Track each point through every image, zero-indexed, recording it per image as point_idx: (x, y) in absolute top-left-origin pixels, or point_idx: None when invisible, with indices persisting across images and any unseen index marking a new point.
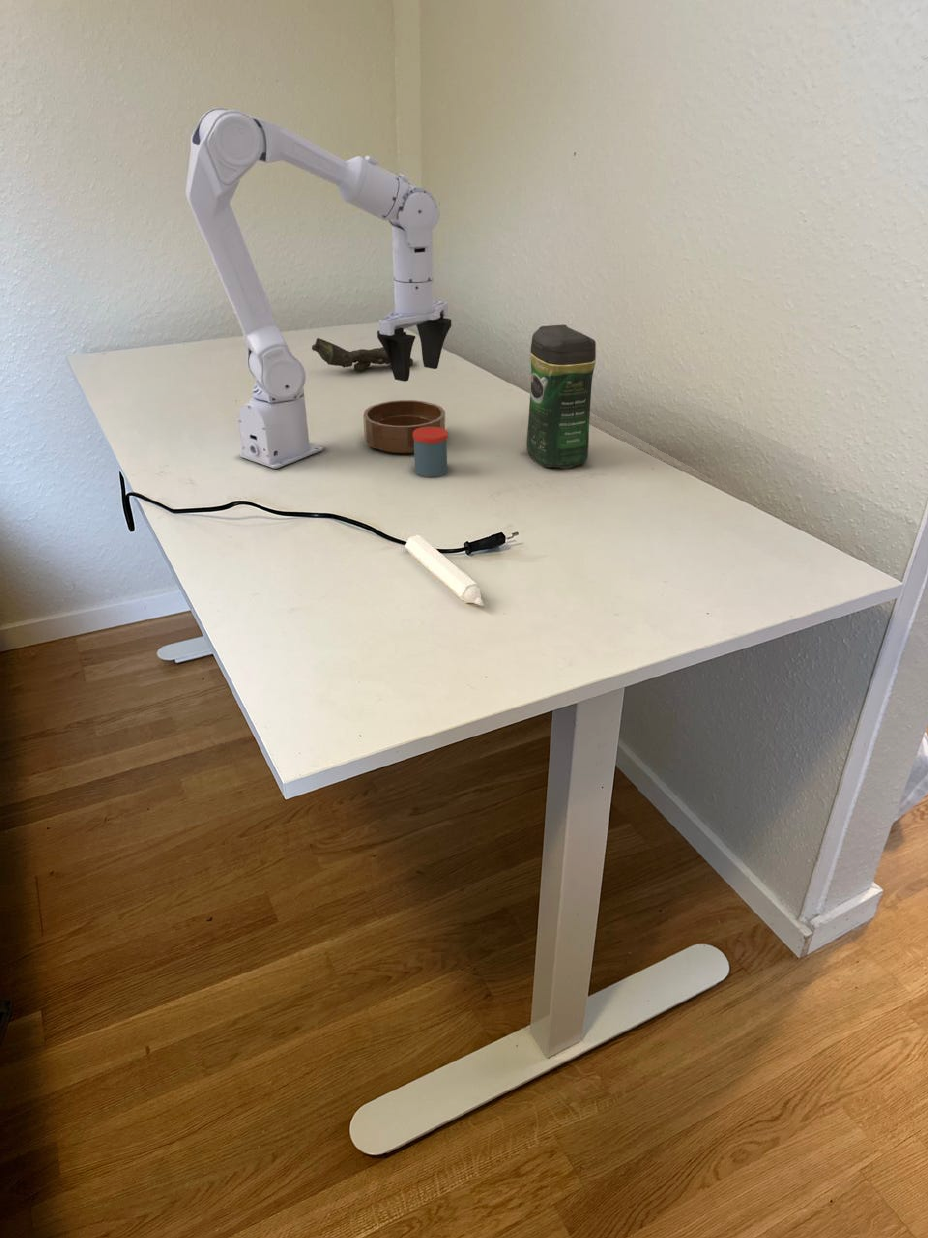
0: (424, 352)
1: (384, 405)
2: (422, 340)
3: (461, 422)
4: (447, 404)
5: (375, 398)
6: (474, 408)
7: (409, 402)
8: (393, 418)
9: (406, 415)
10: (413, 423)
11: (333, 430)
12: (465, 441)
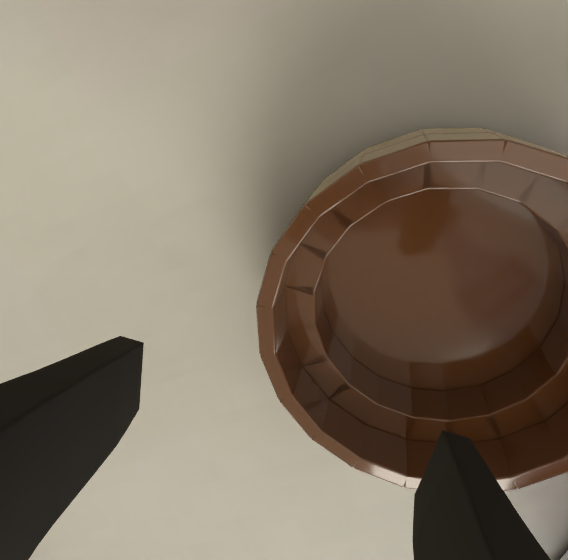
0: (81, 472)
1: (350, 443)
2: (18, 558)
3: (163, 158)
4: (35, 272)
5: (107, 479)
6: (15, 167)
7: (283, 364)
8: (353, 381)
9: (321, 345)
10: (321, 305)
11: (401, 517)
12: (357, 51)
